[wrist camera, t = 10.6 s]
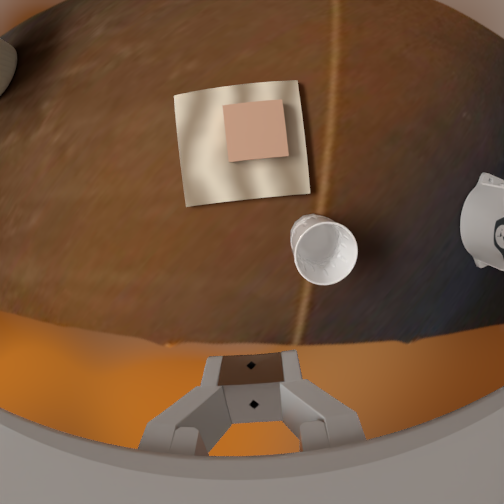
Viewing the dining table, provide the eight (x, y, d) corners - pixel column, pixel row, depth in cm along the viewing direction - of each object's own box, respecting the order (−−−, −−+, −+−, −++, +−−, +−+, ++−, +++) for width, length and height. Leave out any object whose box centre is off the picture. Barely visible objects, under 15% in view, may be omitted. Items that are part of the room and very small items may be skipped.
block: (224, 108, 37) (280, 103, 36) (230, 162, 39) (287, 156, 38) (222, 105, 34) (282, 99, 34) (228, 162, 37) (288, 156, 36)
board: (296, 82, 36) (297, 80, 35) (308, 192, 41) (310, 193, 40) (175, 97, 37) (173, 95, 36) (188, 205, 42) (186, 206, 41)
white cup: (317, 199, 41) (335, 208, 32) (346, 240, 43) (369, 259, 33) (275, 231, 43) (281, 249, 33) (305, 270, 44) (318, 297, 35)
